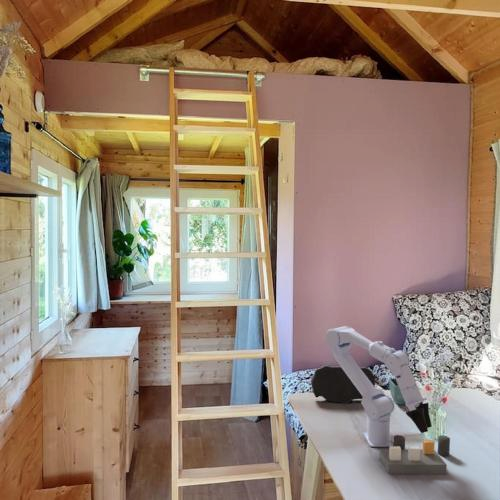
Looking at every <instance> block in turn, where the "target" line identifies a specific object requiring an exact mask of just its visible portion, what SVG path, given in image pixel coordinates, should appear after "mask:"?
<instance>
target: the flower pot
mask: <svg viewBox="0 0 500 500" xmlns="http://www.w3.org/2000/svg"><path fill="white" fill-rule="evenodd" d="M388 381H389V382H388V383H389V384H388V385H389V386H388V387H389V392H390V395H391V399H392V400H393V402H394V403H395V405H405V406H406V403H405V400H404V398H403V396H402V393H401V391H400V388H399V386H398V384H397V381H396V379H395V378H388Z"/></svg>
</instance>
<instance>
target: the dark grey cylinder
mask: <svg viewBox="0 0 500 500" xmlns="http://www.w3.org/2000/svg"><path fill="white" fill-rule="evenodd" d="M450 445H451V438H450V437H449V436H447V435H442V434H441V435H438V436H437V454H438V455H439V456H440V457H445V458H446V457H450V449H451V448H450Z"/></svg>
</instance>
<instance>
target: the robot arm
mask: <svg viewBox="0 0 500 500" xmlns="http://www.w3.org/2000/svg"><path fill="white" fill-rule="evenodd" d="M325 343H326V345H327V346H328V347H329V349H330V350H331V353H332V356H333V358H334V359H335V361H336V362H337V364H338V365H339V366H340V367H341V368H342V369H343V370H344V372H345V373H346V374H347V376H348V377H349V379H350V380H351V381H352V383H353V384H354V385H355V387H356V388H357V389H358V391H359V392H360V394H361V395H362V396H363V397H362V399H361V405H362V407H363V409H364V411H365V414H366V419H365V420H366V422H365V424H366V427H365V432H363V436H364V438H365V440H366V441H367V443H368V445H369V446H370V447H372V448H374V447H375V448H377V447H378V448H381V447H382V448H389V446H394V443H393V442H391V439H390V433H391V432H390V428H391V426H390V425H391V417H392V414H391V413H393V412H394V410H395V401H394V400H393V398H392V397H390V396H389V395H388V394H386V393H385V392H384V391H383V390H382V389H379V388H377V387H376V386H375V387H374V386H373V384H372V383H371V382H370V380H369V379H368V378H367V376H366V375H365V374H364V372H363V371H362V370H361V369H360V368H361V367H360V365H358V363H357V362H356V361H355V359H354V357H353V356H352V355H351V354H350V349H351V347H352V344H354V345H356V346H357V347H359V348H362V349H364V350H365V351H368V352H369V356H370V357H373V358H374V359H376V360H378V361H379V362H381V363H383V364H385V367H386V368H387V369H388V371H390V373H391V374H392V376H393V377H394V379H396V381H397V384H398V386H399V388H400V391H401V393H402V396H403V398H404V400H405V403H406V405H405V406H406V407H407V408H408V410H407V411H406V412H405V415H406V416H407V417H408V418H409V419H411V421H412V422H413V423H414V424H415V426H416V428H417V429H418V430H419V432H420V433H421V434H425V433H428V432H429V429H428V428H432V427H433V426H432V425H433V424H432V420H431V416H430V412H429V407H430V405H429V404H430V403H429V402H425V401H427V400H428V398H427V397H426V396H425V397H423V396H422V393H421V390H420V389H419V387H418V384H417V382H416V379H415V377H414V375H413V373H412V370H411V367H410V366H409V365H410V356H409V355H408V354H407V352H405V351H404V350H402V349H401V350H400V349H399V350H396V349H395V348H394V347H390V346H388V345H386V344H384V342H383V341H382V340H380V341H379V340H376V341H374V342H373V341H372V340H370V339H368V338H367V337H365V336H364V335H362V334H360V333H359V332H357V331H356V329H354V328H352V327H351V326H349V325H343V326H340V327H339V326H338V327H336V328H329V329H328V330H326V332H325ZM424 402H425V403H424Z"/></svg>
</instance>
